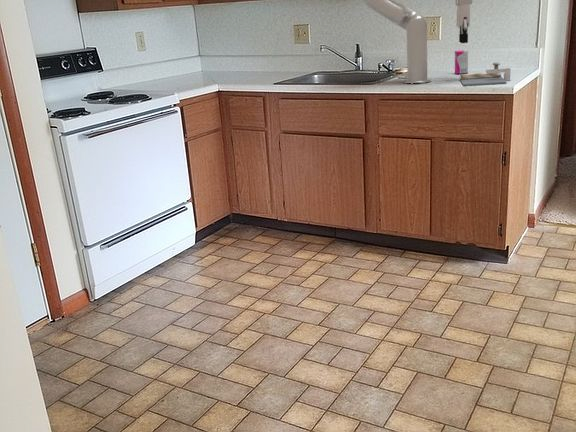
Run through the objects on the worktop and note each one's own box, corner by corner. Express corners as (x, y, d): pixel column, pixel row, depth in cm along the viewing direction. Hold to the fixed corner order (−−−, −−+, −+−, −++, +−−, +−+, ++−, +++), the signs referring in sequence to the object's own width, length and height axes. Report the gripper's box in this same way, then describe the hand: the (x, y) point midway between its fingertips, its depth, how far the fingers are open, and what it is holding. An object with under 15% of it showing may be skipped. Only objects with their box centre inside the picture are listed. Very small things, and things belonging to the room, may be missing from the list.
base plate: (463, 86, 277) (463, 84, 277) (460, 80, 295) (460, 78, 295) (506, 83, 273) (506, 81, 273) (500, 77, 291) (500, 76, 291)
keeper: (486, 82, 283) (486, 70, 281) (486, 81, 285) (486, 69, 283) (510, 80, 281) (510, 68, 279) (509, 79, 283) (509, 68, 281)
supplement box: (466, 72, 318) (466, 49, 315) (468, 74, 313) (468, 50, 309) (454, 73, 319) (454, 50, 315) (456, 74, 314) (456, 51, 310)
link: (500, 75, 290) (500, 62, 288) (501, 76, 286) (501, 63, 284) (460, 77, 294) (460, 64, 292) (460, 79, 290) (461, 65, 288)
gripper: (453, 2, 293) (453, 41, 299) (458, 2, 278) (457, 44, 284) (469, 0, 292) (468, 40, 298) (475, 1, 277) (474, 43, 283)
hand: (463, 42), depth 291 cm, fingers open, 4 cm apart
